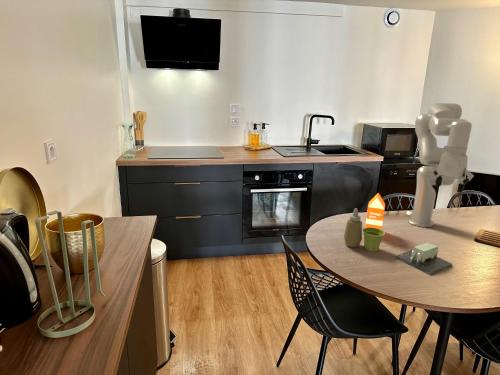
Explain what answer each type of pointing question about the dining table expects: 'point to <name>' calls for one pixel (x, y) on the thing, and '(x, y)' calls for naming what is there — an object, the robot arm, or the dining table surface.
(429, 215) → the robot arm
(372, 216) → the orange juice
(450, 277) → the dining table surface
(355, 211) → the squeeze bottle
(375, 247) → the plant pot
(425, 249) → the pale green block
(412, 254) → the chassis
